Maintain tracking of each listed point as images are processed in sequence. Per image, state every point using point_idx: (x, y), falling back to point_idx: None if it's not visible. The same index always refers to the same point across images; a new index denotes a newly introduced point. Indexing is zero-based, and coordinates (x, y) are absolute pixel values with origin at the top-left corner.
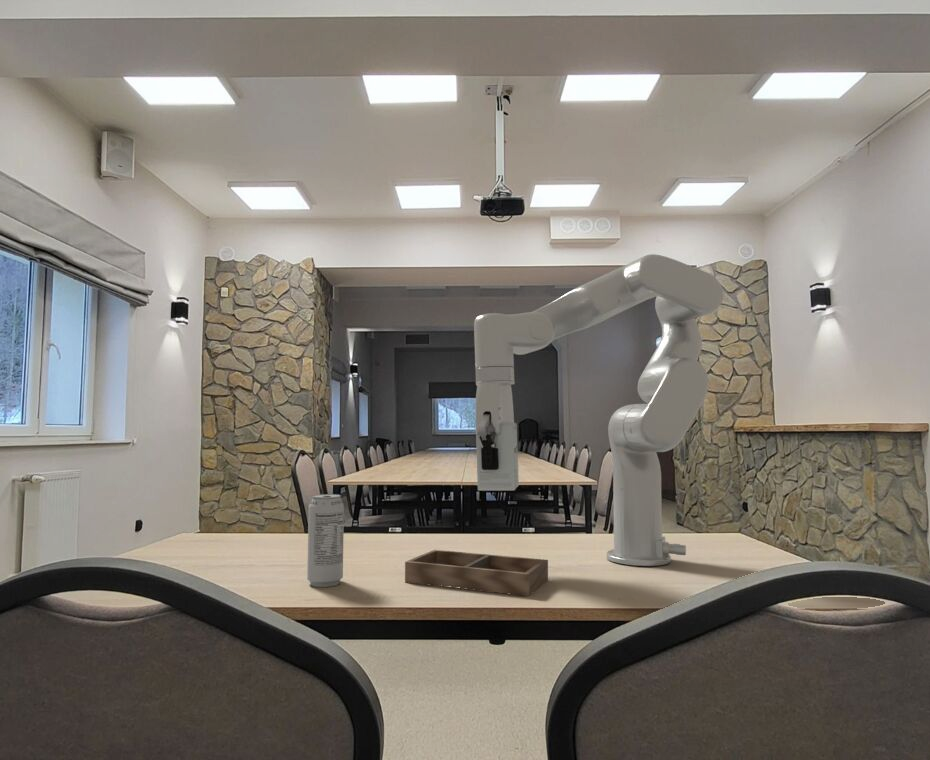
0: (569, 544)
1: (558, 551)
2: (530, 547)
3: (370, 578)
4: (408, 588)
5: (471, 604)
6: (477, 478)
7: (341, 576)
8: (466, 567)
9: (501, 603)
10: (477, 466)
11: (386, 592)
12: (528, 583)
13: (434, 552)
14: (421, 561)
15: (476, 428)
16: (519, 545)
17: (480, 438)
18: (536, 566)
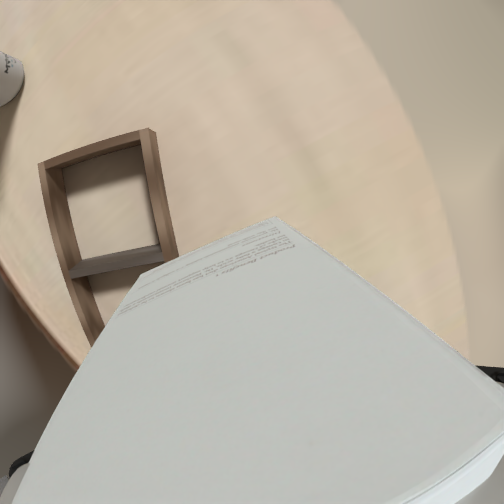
0: (449, 246)
1: (402, 257)
2: (412, 199)
3: (49, 102)
4: (36, 193)
5: (42, 309)
6: (127, 293)
7: (6, 101)
8: (66, 278)
9: (67, 336)
10: (110, 320)
11: (11, 184)
12: None
13: (131, 141)
14: (81, 157)
15: (3, 496)
16: (418, 174)
17: (15, 465)
18: None
